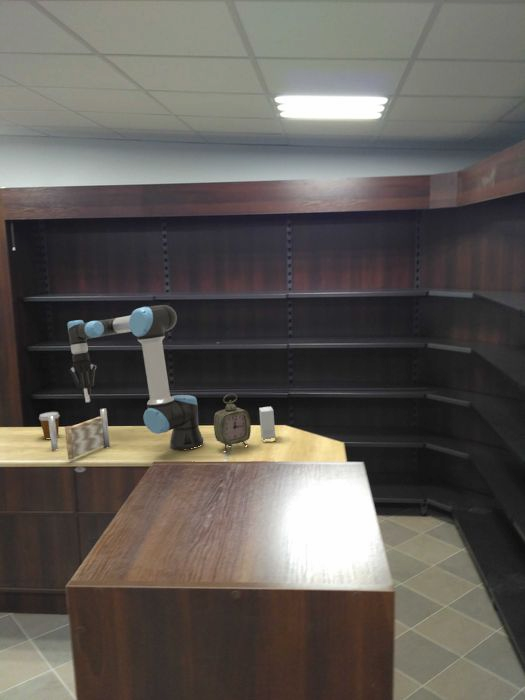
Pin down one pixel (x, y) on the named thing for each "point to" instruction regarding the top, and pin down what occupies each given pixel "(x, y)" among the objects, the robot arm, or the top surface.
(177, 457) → the top surface
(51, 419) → the post
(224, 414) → the tabletop clock
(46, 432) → the disposable coffee cup
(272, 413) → the skincare box
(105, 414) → the hinge post
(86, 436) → the gate
